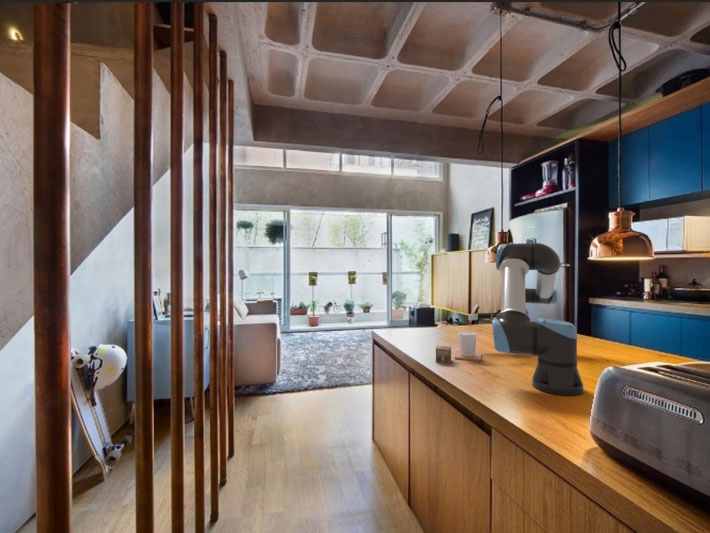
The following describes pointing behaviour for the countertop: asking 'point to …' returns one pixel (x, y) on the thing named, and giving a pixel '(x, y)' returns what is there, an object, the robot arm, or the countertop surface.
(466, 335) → the white cup
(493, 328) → the robot arm
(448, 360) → the letter block
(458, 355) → the coaster
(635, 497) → the countertop surface
